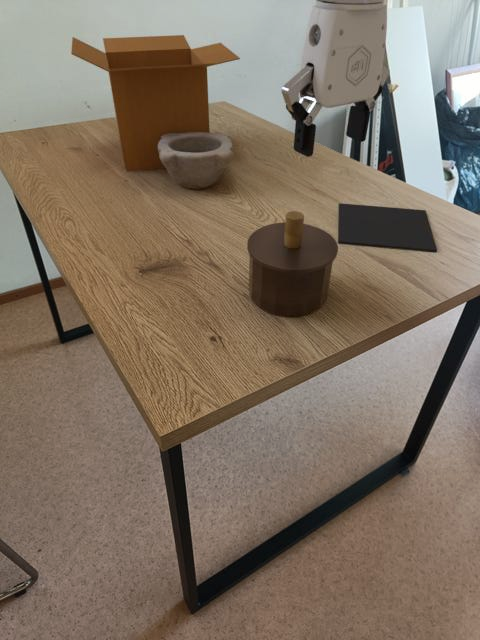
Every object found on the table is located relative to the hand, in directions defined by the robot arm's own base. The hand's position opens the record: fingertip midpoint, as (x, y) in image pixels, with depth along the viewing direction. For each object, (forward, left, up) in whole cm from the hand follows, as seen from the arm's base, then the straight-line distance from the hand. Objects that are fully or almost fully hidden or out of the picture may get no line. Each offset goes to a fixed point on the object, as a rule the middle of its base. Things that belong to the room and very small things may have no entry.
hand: (330, 145), depth 61 cm
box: (+42, -52, -23) cm, 71 cm away
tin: (+4, +4, -23) cm, 23 cm away
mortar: (+29, -36, -23) cm, 52 cm away
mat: (-13, -21, -23) cm, 34 cm away
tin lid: (+4, +4, -14) cm, 15 cm away
